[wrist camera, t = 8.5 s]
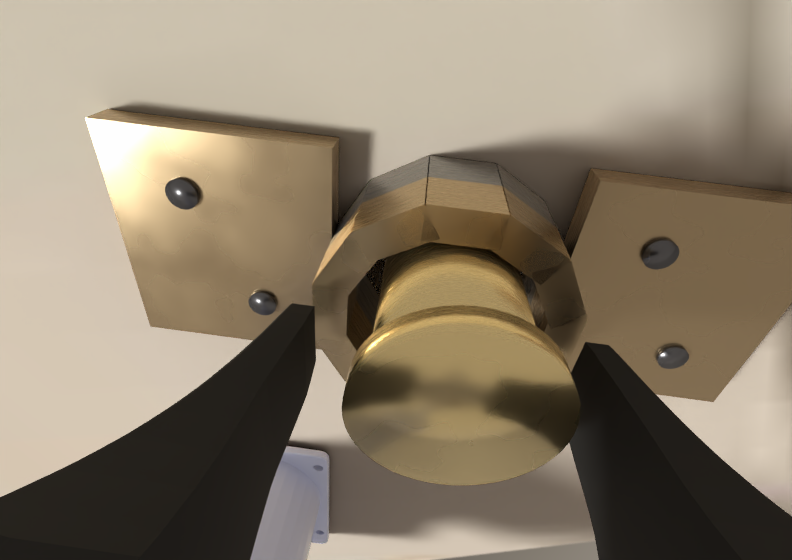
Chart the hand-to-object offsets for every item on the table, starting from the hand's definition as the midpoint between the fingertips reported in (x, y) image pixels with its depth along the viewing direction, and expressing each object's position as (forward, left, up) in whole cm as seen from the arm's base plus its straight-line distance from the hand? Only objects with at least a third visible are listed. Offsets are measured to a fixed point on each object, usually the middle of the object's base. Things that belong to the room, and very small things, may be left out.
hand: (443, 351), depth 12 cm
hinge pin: (0, 0, -4) cm, 4 cm away
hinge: (0, 0, -4) cm, 4 cm away
